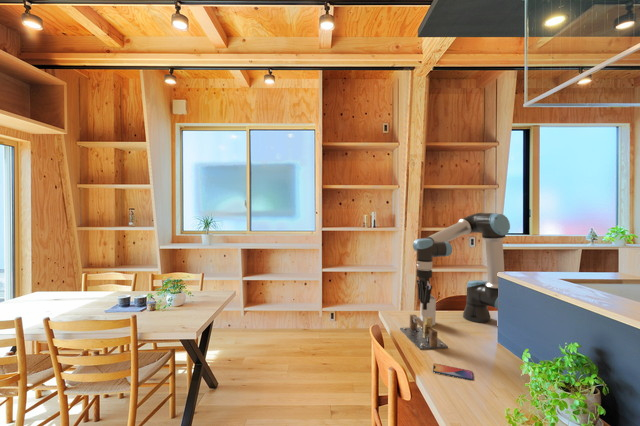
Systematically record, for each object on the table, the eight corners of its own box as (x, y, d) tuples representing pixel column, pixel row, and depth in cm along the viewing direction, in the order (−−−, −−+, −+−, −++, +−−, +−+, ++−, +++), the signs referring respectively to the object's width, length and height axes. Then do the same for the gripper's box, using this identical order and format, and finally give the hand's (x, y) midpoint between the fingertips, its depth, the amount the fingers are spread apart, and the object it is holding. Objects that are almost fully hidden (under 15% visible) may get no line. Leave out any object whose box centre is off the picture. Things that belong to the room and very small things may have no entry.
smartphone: (473, 382, 128) (473, 379, 128) (432, 373, 134) (432, 370, 133) (472, 373, 135) (472, 370, 135) (433, 365, 140) (433, 362, 140)
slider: (429, 339, 164) (430, 316, 163) (431, 341, 162) (432, 318, 161) (422, 339, 163) (423, 316, 163) (424, 341, 161) (425, 318, 161)
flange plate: (424, 328, 182) (424, 325, 182) (447, 348, 157) (448, 345, 157) (399, 329, 180) (400, 326, 180) (420, 349, 155) (420, 346, 155)
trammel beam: (414, 327, 181) (415, 314, 181) (437, 346, 156) (437, 331, 156) (409, 327, 181) (409, 314, 181) (431, 346, 156) (431, 331, 156)
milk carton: (432, 321, 194) (433, 289, 194) (435, 325, 187) (436, 292, 187) (419, 320, 195) (420, 288, 195) (422, 324, 188) (423, 291, 188)
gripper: (412, 266, 173) (411, 311, 174) (423, 271, 161) (422, 320, 161) (425, 266, 174) (424, 310, 175) (437, 271, 162) (436, 319, 162)
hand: (423, 315), depth 168 cm, fingers closed
